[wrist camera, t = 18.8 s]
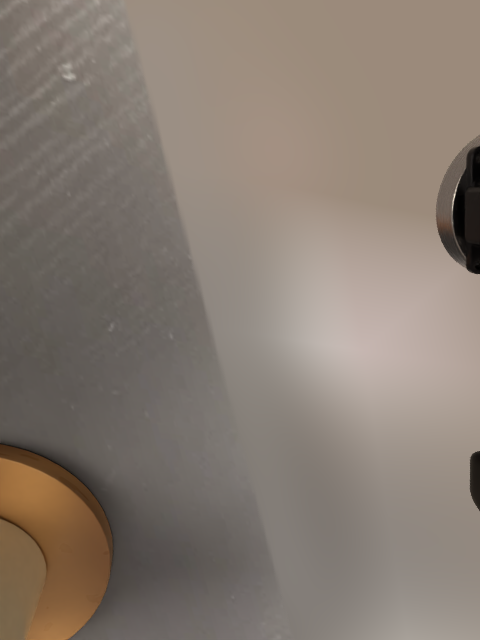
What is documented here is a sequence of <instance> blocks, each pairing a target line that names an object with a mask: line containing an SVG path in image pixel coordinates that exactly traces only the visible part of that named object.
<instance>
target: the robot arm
mask: <svg viewBox="0 0 480 640" xmlns="http://www.w3.org/2000/svg"><path fill="white" fill-rule="evenodd" d="M478 152H479V153H480V146H475V147H473V148H471V149H470V150H469V152H468V153H467V157H466V192H465V240H466V268H467V270H468V271H469V272H471V273H475V274H480V159H479V160H478V161H477V160H476V155H477V153H478ZM477 261H479V264H478V266H477V267H476V268H475V263H476V262H477ZM470 492H471V496H472V499H473V501H474V503H475V504H476V506H477V508H478V509H479V511H480V451H478V452H475V453H473V454H472V456H471V459H470Z"/></svg>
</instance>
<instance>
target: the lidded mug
mask: <svg viewBox="0 0 480 640" xmlns="http://www.w3.org/2000/svg"><path fill="white" fill-rule="evenodd" d="M46 575H47V570H46V563H45V559H44V556H43V554H42V552H41V550H40V548H39V547H38V545H37V544H36V542H35V541H34V540H33V539H32V538H31V537H30V536H29V535H28V534H27V533H26V532H24V531H23V530H22V529H20V528H19V527H17V526H15V525H14V524H12V523H10V522H7V521H5V520H3V519H0V640H27V639H28V636H29V632H30V629H31V626H32V623H33V620H34V617H35V614H36V611H37V608H38V605H39V602H40V599H41V596H42V592H43V589H44V586H45V582H46Z"/></svg>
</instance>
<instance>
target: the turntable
mask: <svg viewBox="0 0 480 640" xmlns="http://www.w3.org/2000/svg"><path fill="white" fill-rule="evenodd" d="M0 519H3V520H5V521H7V522H10V523H12V524H14V525H15V526H17V527H19V528H20V529H22V530H23V531H24V532H26V533H27V534H28V535H29V536H30V537H31V538H32V539H33V540H34V541H35V542H36V544H37V545H38V547H39V548H40V550H41V552H42V554H43V556H44V559H45V563H46V570H47V575H46V582H45V586H44V589H43V592H42V596H41V599H40V602H39V605H38V608H37V611H36V614H35V617H34V620H33V623H32V626H31V629H30V632H29V636H28V639H27V640H67V639H69V638H70V637H72V636H73V635H74V634H75V633H76V632H77V631H78V630H80V629H81V628H82V627H83V626H84V625H85V623H86V622H87V621H88V620H89V619H90V618H91V617H92V615H93V614H94V612H95V611H96V609H97V608H98V606H99V605H100V603H101V601H102V598H103V596H104V594H105V592H106V589H107V585H108V581H109V577H110V571H111V565H112V557H113V541H112V535H111V530H110V526H109V523H108V521H107V518H106V516H105V513H104V511H103V509H102V508H101V506H100V504H99V503H98V501H97V500H96V498H95V497H94V496H93V495H92V493H91V492H90V491H89V490H88V488H87V487H86V486H85V485H84V484H82V483H81V482H80V481H79V480H78V479H77V478H76V477H75V476H74V475H72V474H71V473H69V472H68V471H66V470H65V469H64V468H62V467H61V466H59V465H57V464H55V463H53V462H52V461H50V460H48V459H46V458H44V457H41V456H39V455H37V454H34V453H32V452H29V451H26V450H22V449H19V448H15V447H12V446H8V445H2V444H0Z"/></svg>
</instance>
